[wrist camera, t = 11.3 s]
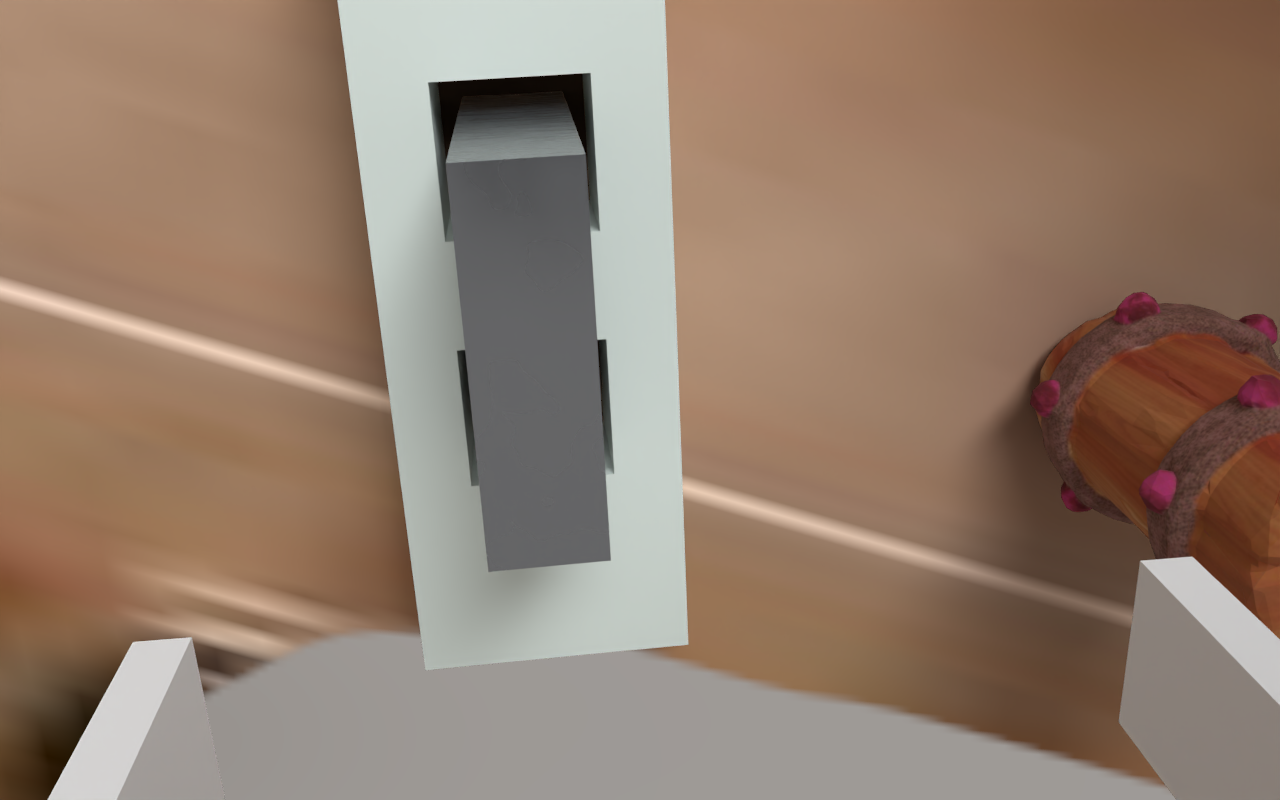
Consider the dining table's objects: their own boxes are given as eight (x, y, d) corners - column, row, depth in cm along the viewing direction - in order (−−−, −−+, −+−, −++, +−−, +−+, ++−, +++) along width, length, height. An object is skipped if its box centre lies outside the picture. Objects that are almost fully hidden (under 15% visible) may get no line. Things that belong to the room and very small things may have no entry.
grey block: (462, 96, 38) (445, 163, 27) (562, 90, 39) (585, 154, 28) (492, 404, 42) (488, 572, 31) (582, 396, 43) (610, 560, 31)
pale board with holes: (336, -165, 35) (314, -178, 31) (640, -178, 36) (657, -192, 32) (432, 602, 45) (425, 670, 41) (671, 579, 46) (688, 644, 41)
